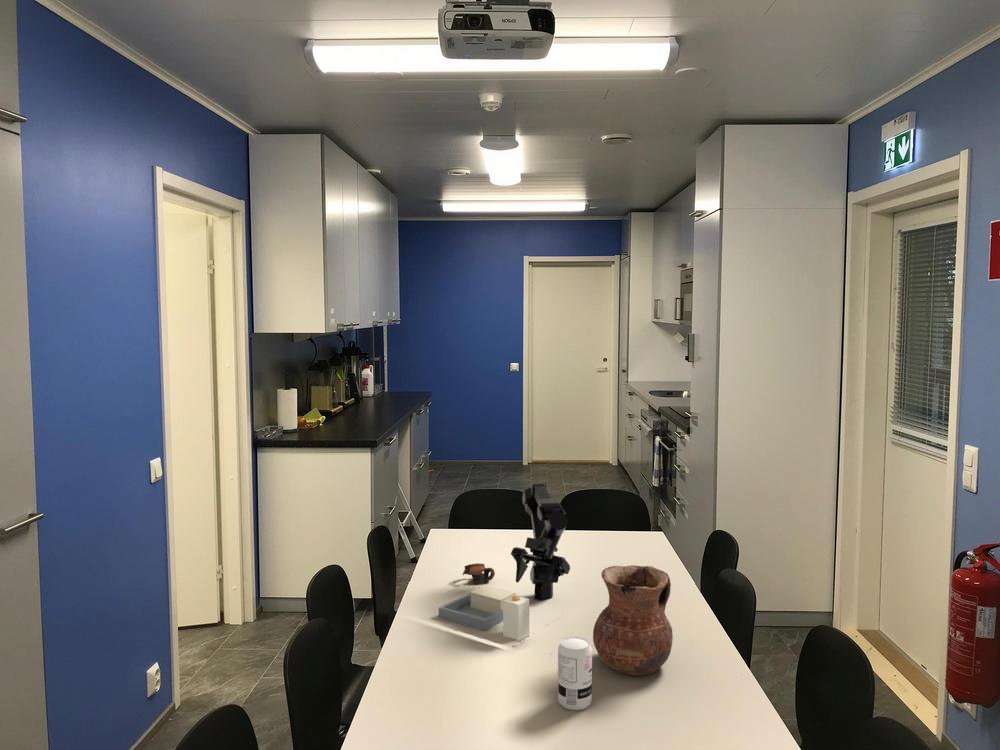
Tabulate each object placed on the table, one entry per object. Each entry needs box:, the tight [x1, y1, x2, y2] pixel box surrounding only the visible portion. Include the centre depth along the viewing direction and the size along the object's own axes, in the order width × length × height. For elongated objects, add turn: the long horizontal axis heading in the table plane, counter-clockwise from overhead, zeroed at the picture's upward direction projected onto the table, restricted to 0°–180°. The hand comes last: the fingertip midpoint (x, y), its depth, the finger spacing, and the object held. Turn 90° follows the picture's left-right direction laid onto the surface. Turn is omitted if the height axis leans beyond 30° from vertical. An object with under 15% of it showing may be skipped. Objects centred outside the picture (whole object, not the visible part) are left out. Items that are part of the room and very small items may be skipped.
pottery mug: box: [462, 562, 496, 586], centre depth 264 cm, size 12×10×8 cm
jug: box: [592, 565, 674, 677], centre depth 201 cm, size 22×21×25 cm
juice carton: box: [502, 594, 530, 644], centre depth 218 cm, size 6×6×12 cm
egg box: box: [469, 584, 517, 614], centre depth 239 cm, size 8×12×5 cm
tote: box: [438, 592, 503, 632], centre depth 235 cm, size 22×18×4 cm
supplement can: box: [557, 636, 593, 711], centre depth 180 cm, size 8×8×15 cm
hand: (529, 585), depth 223 cm, fingers open, 9 cm apart
